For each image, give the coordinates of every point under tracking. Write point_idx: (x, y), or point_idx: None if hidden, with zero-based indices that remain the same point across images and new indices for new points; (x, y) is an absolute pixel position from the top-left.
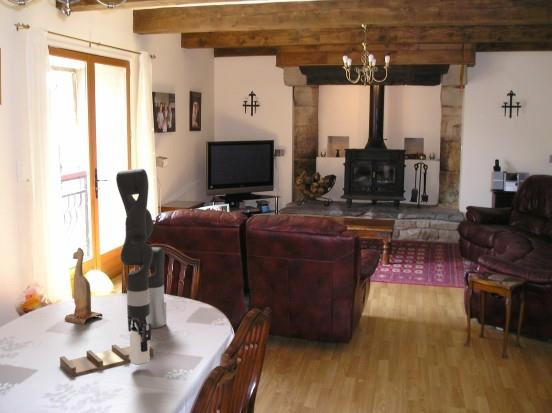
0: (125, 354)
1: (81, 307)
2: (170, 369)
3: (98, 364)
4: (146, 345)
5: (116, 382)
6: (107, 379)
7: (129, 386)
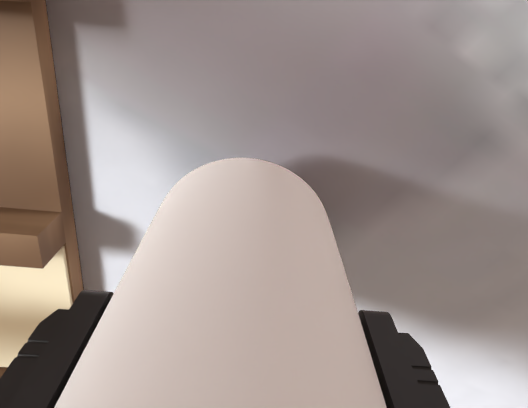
0: (21, 255)
1: None
2: (435, 4)
3: None
4: (438, 401)
5: None
6: None
7: None
